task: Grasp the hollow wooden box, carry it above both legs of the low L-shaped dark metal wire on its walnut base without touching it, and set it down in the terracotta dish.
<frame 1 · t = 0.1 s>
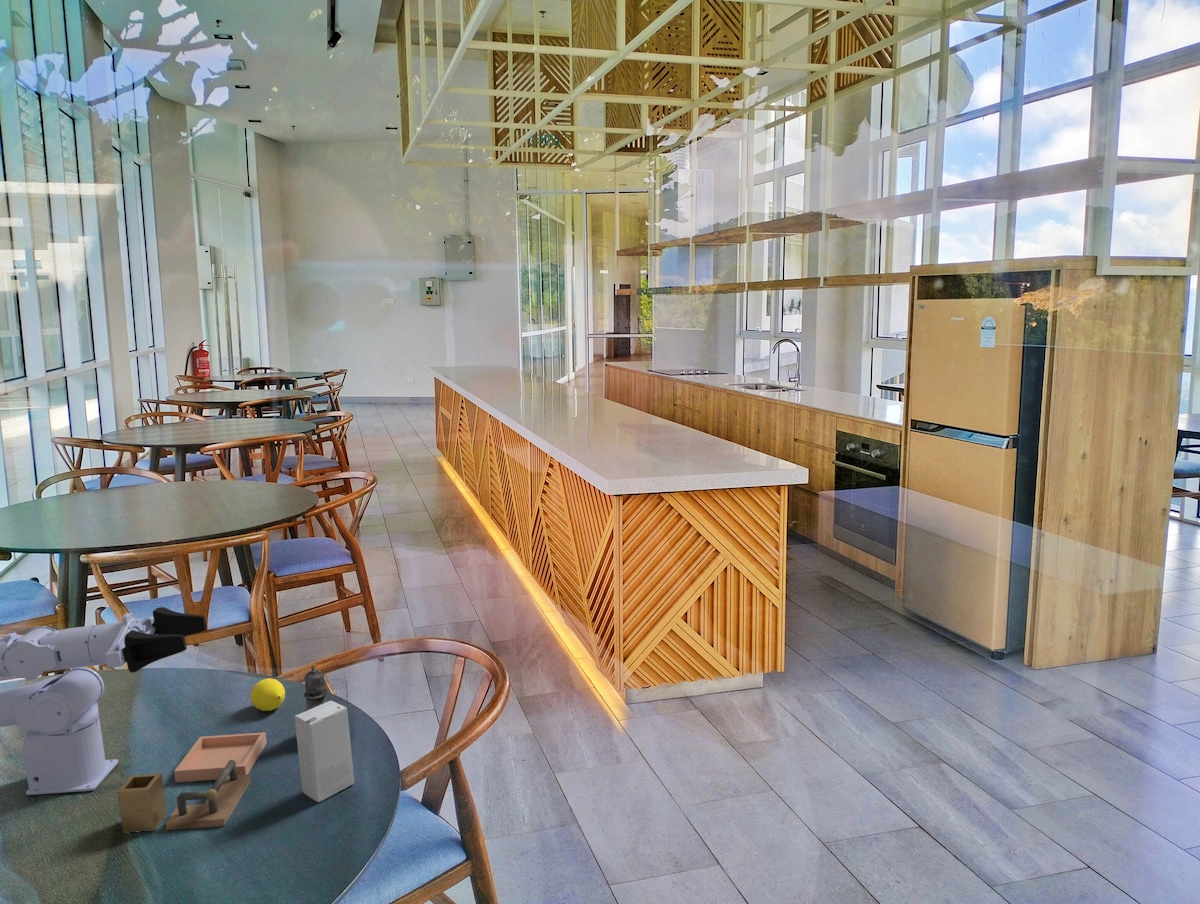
hand: (195, 632, 125), 22 cm above the table, tool horizontal, fingers open, 7 cm apart
dish: (223, 761, 131), on the table
dark grey chess piece: (320, 737, 138), on the table
lemon: (270, 710, 148), on the table
skincare box: (328, 791, 123), on the table
bent wire: (210, 802, 120), on the table
hollow wooden box: (145, 823, 116), on the table
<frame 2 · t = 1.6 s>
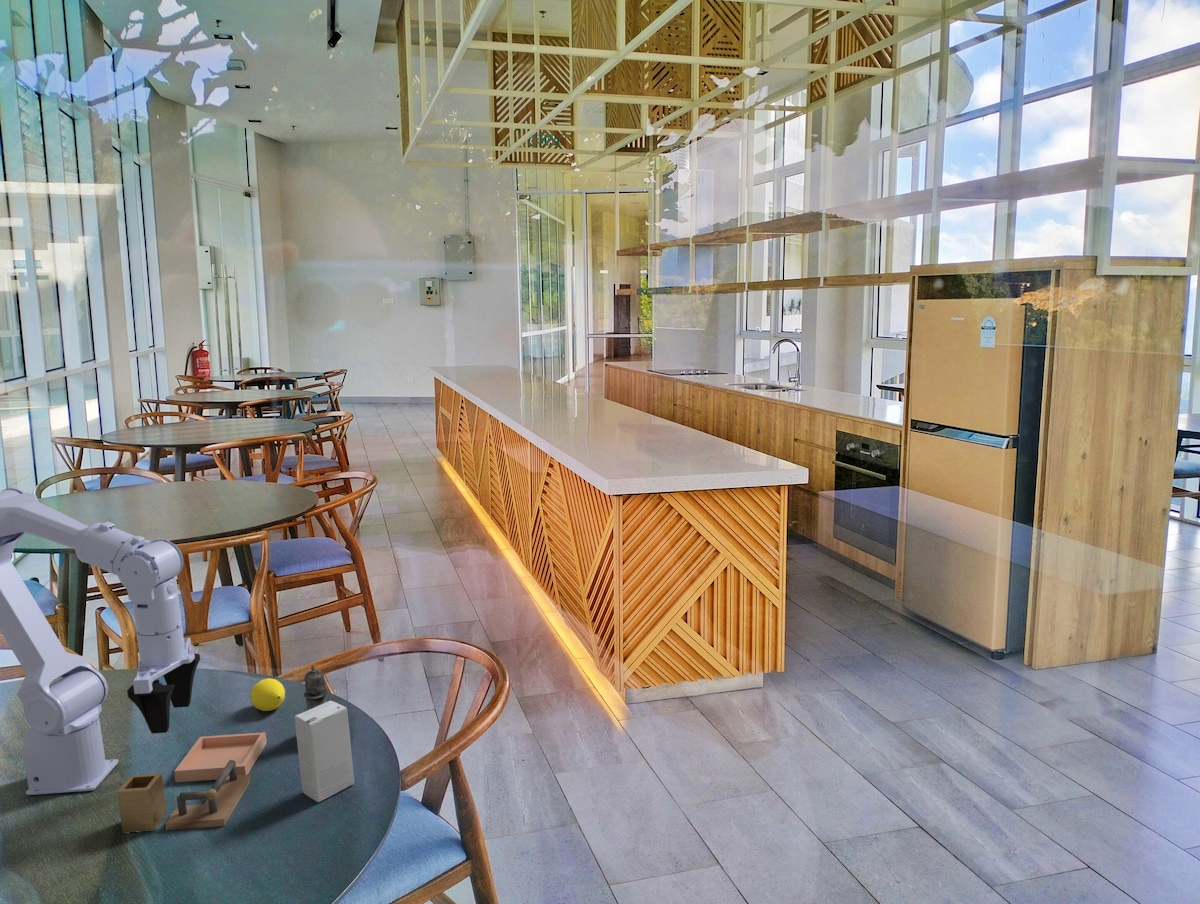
hand: (171, 718, 123), 10 cm above the table, tool pointing down, fingers open, 7 cm apart
nothing on the table moved.
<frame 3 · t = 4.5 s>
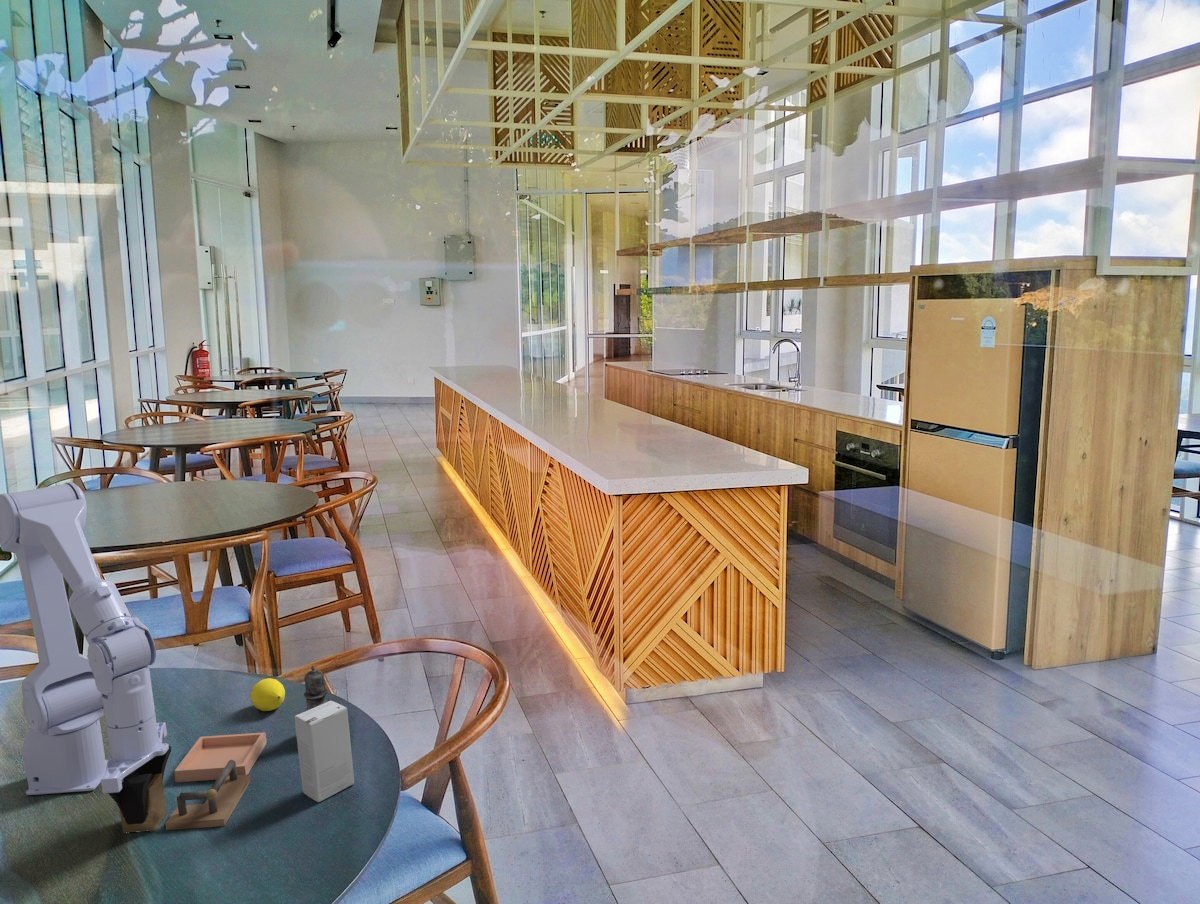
hand: (144, 812, 116), 2 cm above the table, tool pointing down, fingers closed on hollow wooden box, 4 cm apart
hollow wooden box: (145, 823, 116), on the table, touching gripper
everything else where it was.
when the fingers open (3 cm above the table, at t = 12.2 s): hollow wooden box stays where it is, resting on dish.
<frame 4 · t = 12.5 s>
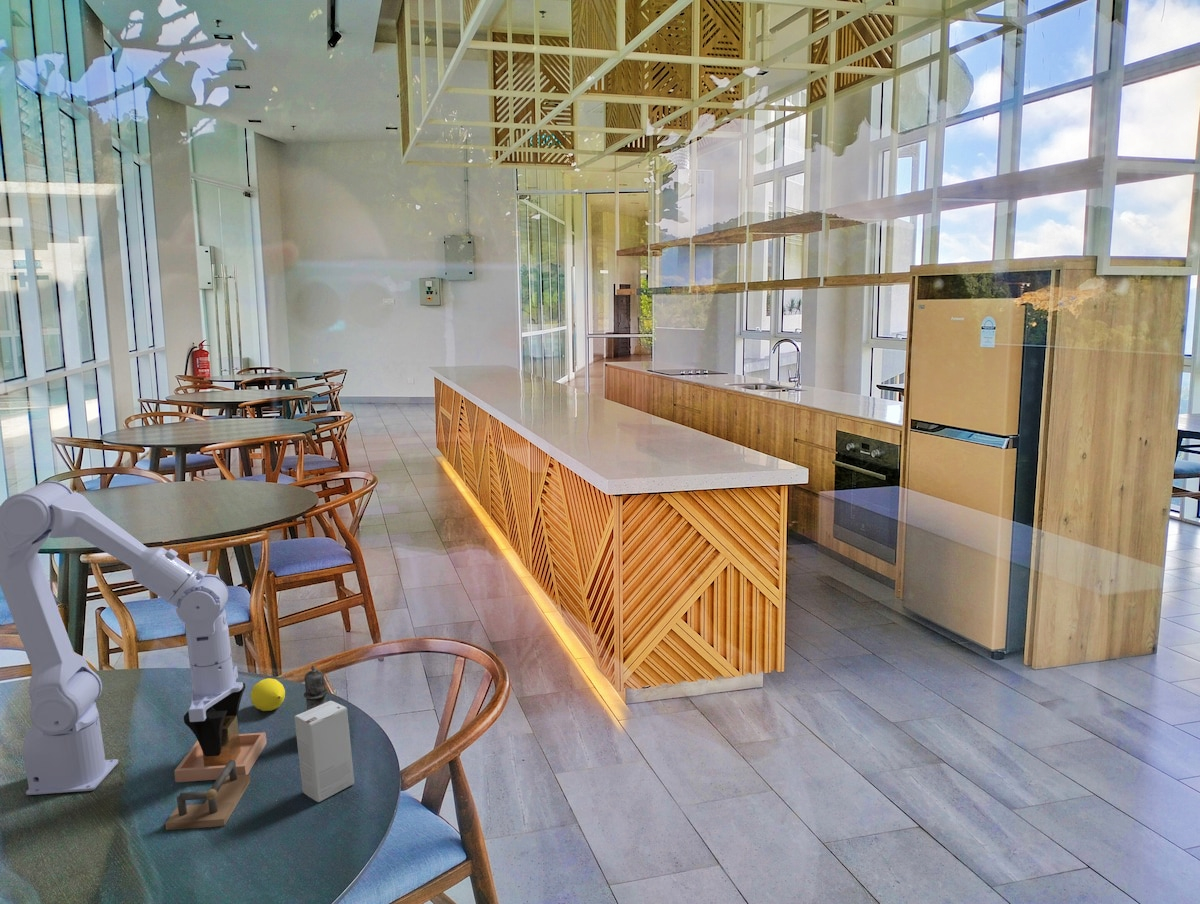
hand: (220, 743, 131), 3 cm above the table, tool pointing down, fingers open, 6 cm apart
hollow wooden box: (222, 759, 131), resting on dish
everything else where it was.
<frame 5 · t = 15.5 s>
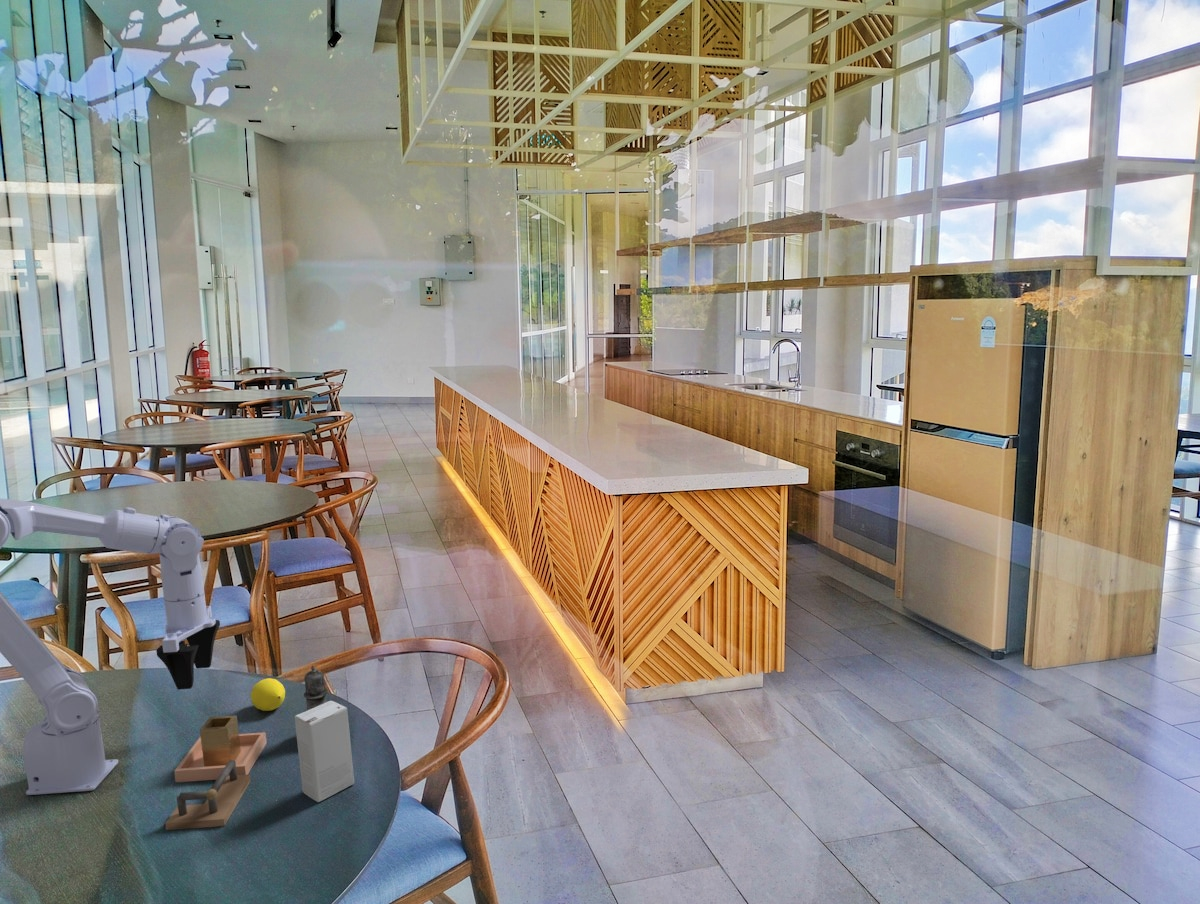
hand: (194, 677, 137), 10 cm above the table, tool pointing down, fingers open, 7 cm apart
nothing on the table moved.
at the end: hollow wooden box 0.0 cm off-centre on the dish, point 0.4 cm above the dish's base; hollow wooden box tilted 0°; hollow wooden box touching dish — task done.
